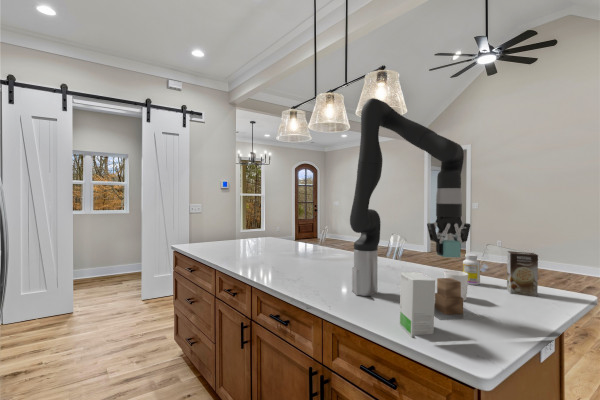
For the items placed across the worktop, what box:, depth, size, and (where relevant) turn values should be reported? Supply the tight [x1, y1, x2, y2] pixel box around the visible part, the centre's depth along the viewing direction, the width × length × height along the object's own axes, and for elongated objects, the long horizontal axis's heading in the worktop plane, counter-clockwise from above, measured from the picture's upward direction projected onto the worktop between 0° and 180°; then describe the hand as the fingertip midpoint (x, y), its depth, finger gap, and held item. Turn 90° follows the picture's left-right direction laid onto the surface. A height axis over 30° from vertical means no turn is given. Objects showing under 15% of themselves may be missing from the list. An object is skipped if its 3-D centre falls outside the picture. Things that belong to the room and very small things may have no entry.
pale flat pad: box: [434, 303, 485, 321], centre depth 98 cm, size 14×14×1 cm
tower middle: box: [436, 277, 461, 298], centre depth 98 cm, size 5×5×5 cm
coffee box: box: [506, 250, 539, 297], centre depth 121 cm, size 9×6×16 cm
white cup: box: [444, 270, 469, 301], centre depth 112 cm, size 8×8×10 cm
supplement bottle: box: [462, 253, 481, 286], centre depth 135 cm, size 7×7×13 cm
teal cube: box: [436, 239, 462, 259], centre depth 98 cm, size 5×5×5 cm
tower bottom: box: [434, 292, 464, 315], centre depth 98 cm, size 6×6×5 cm
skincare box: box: [398, 271, 436, 338], centre depth 84 cm, size 8×7×16 cm
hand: (448, 254), depth 98 cm, fingers closed on teal cube, 5 cm apart
